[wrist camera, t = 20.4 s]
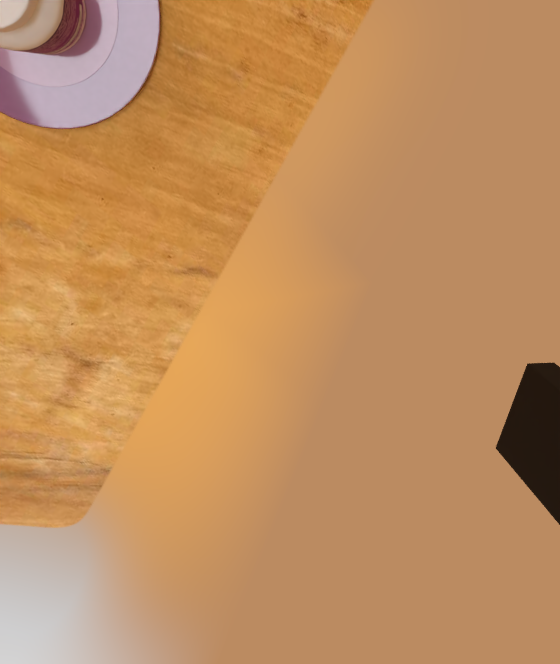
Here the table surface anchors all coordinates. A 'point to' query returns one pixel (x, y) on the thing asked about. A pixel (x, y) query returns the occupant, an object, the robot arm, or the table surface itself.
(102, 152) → the table surface
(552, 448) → the robot arm
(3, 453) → the table surface
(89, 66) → the saucer
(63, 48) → the pill bottle
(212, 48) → the table surface
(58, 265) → the table surface
